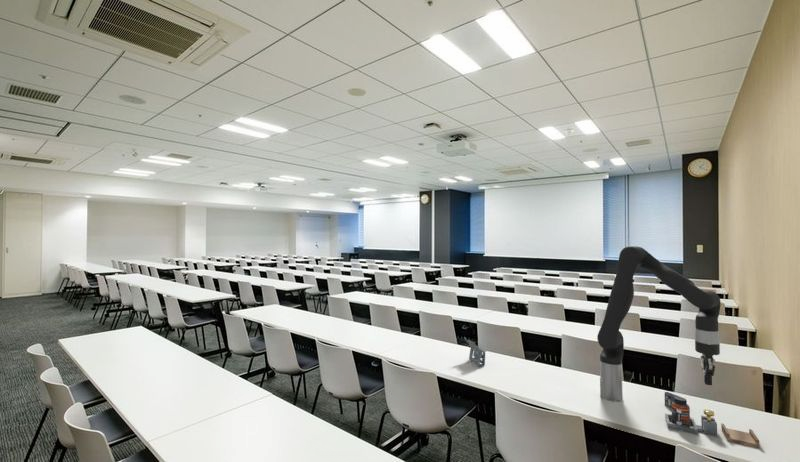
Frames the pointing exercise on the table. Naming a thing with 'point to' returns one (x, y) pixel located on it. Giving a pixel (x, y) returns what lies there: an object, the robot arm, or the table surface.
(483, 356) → the bracket
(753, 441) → the brown curved tray
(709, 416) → the brass knob
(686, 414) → the supplement bottle
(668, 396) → the mini dv tape
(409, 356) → the table surface
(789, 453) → the table surface
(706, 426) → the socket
